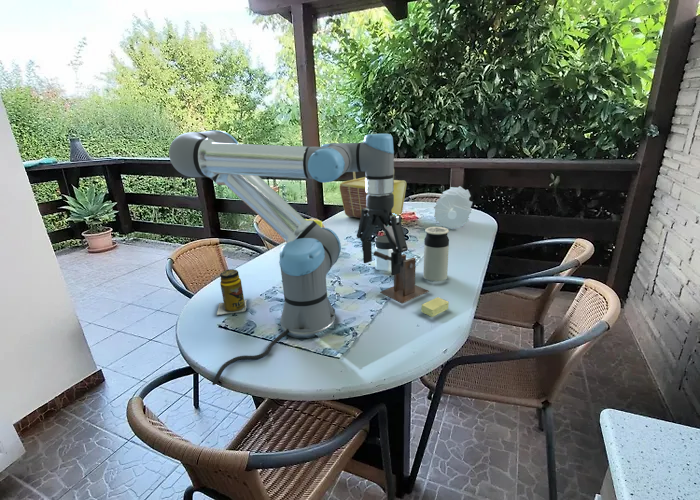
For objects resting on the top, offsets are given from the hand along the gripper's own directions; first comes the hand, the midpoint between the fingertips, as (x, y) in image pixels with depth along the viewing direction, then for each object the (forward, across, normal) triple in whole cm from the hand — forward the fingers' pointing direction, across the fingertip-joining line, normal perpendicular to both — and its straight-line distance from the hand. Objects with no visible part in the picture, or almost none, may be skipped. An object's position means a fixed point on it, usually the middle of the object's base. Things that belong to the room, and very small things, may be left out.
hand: (381, 267), depth 106 cm
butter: (+12, -14, -8) cm, 20 cm away
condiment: (+13, +30, +35) cm, 48 cm away
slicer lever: (0, 0, -5) cm, 5 cm away
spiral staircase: (+13, +39, -85) cm, 94 cm away
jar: (+13, +19, -20) cm, 30 cm away
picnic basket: (+13, +79, -66) cm, 104 cm away
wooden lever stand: (+12, 0, -10) cm, 16 cm away
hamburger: (+13, +63, -16) cm, 66 cm away
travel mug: (+13, +1, -26) cm, 29 cm away
